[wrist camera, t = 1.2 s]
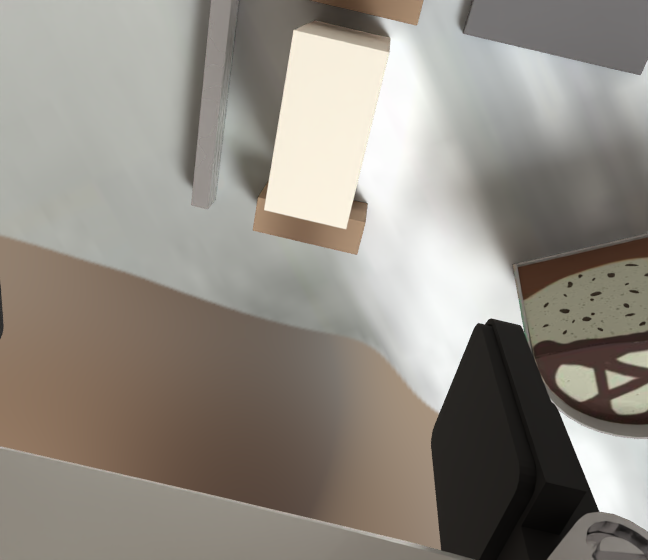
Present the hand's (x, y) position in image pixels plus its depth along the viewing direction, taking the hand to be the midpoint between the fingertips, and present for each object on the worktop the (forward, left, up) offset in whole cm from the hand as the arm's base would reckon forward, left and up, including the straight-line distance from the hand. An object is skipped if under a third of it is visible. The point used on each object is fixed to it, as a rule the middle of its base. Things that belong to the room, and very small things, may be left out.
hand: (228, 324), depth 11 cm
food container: (-18, +7, -23) cm, 30 cm away
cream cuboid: (0, 0, -23) cm, 23 cm away
